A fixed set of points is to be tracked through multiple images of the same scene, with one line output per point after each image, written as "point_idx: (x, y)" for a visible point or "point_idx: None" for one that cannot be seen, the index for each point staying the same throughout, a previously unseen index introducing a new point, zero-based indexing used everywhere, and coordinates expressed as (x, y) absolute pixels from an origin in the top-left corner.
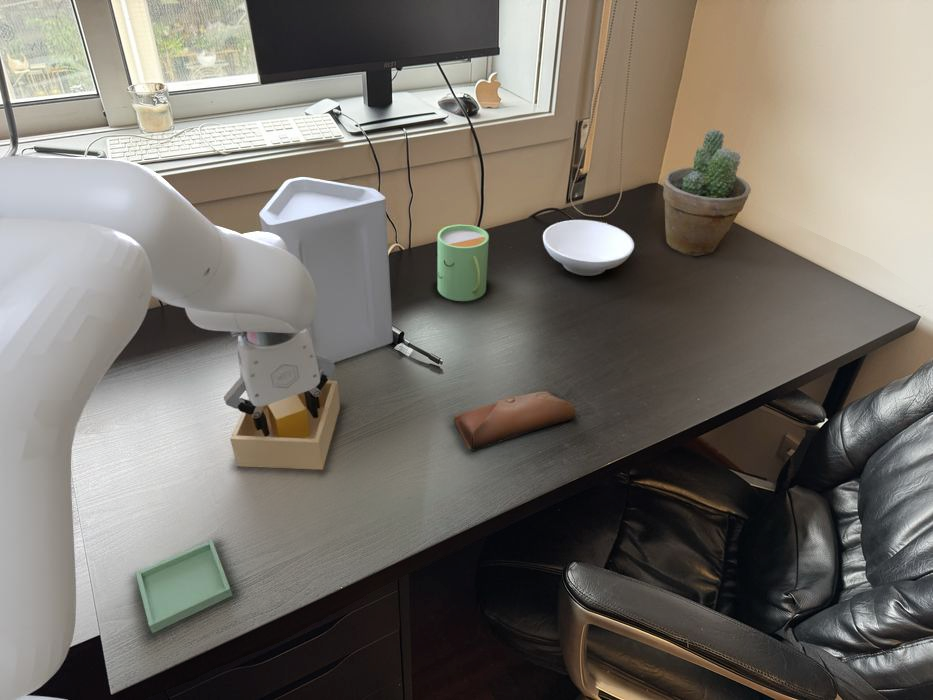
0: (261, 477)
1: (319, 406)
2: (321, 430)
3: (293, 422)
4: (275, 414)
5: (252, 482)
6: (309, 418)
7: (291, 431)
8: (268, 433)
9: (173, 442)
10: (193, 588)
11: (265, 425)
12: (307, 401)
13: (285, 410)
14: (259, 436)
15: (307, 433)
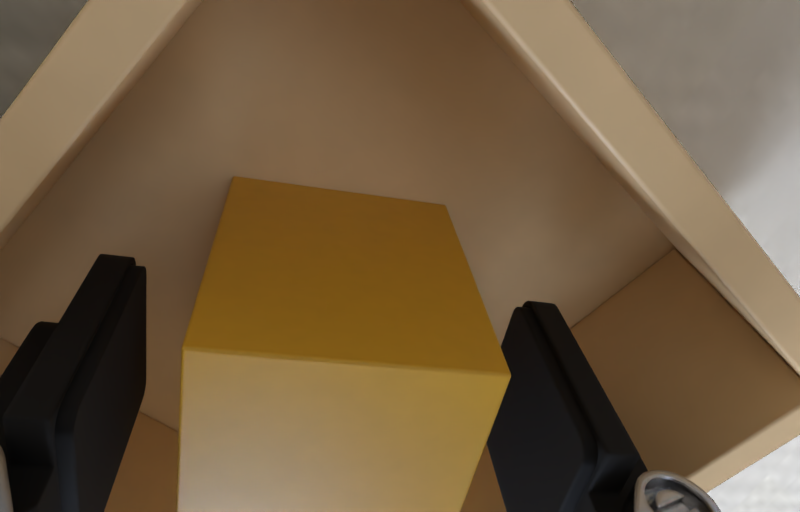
0: (680, 62)
1: (34, 332)
2: None
3: (344, 291)
4: (471, 431)
5: (742, 61)
6: (164, 315)
7: (371, 245)
8: (529, 313)
9: (752, 502)
10: None
11: (576, 373)
12: (116, 428)
13: (370, 428)
14: None
15: (249, 192)
